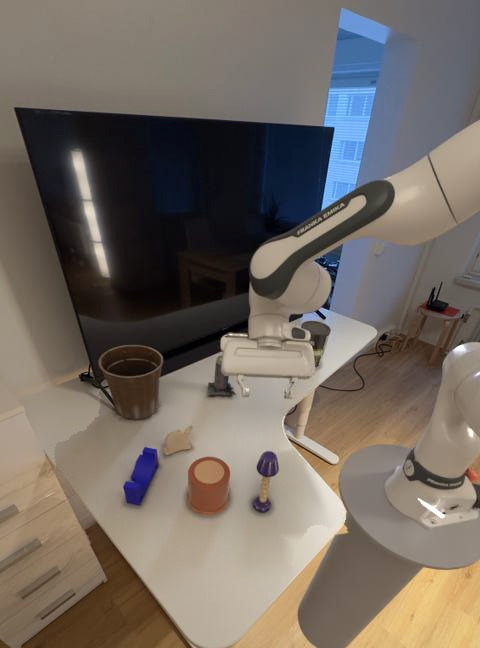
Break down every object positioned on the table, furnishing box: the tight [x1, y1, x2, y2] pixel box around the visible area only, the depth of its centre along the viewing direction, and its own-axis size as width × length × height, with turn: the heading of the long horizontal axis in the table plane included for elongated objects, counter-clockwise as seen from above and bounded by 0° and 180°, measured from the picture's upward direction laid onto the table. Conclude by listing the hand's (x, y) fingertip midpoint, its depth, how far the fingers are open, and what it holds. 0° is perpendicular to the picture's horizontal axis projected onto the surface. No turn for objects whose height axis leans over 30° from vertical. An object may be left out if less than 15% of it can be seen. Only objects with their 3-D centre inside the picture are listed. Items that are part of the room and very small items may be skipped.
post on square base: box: [206, 355, 236, 398], centre depth 106 cm, size 9×8×12 cm
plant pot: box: [98, 344, 164, 421], centre depth 95 cm, size 16×16×16 cm
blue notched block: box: [122, 446, 160, 507], centre depth 79 cm, size 12×4×6 cm, turn 170°
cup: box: [186, 456, 231, 516], centre depth 76 cm, size 10×10×9 cm
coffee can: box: [300, 320, 332, 370], centre depth 123 cm, size 10×10×14 cm
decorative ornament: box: [163, 425, 194, 456], centre depth 89 cm, size 4×8×5 cm, turn 115°
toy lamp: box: [252, 450, 280, 514], centre depth 73 cm, size 5×5×17 cm
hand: (267, 397), depth 74 cm, fingers open, 8 cm apart
